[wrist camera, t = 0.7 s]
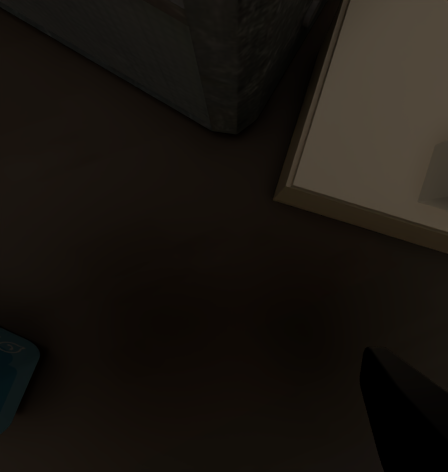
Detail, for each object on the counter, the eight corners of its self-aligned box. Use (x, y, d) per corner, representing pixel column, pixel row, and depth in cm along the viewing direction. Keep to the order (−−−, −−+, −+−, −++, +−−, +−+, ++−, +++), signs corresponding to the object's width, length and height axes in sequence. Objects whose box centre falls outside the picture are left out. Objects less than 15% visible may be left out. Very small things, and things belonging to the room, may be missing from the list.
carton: (471, 260, 21) (559, 269, 15) (272, 199, 22) (285, 186, 16) (517, 112, 21) (624, 64, 15) (317, 53, 22) (347, -14, 16)
